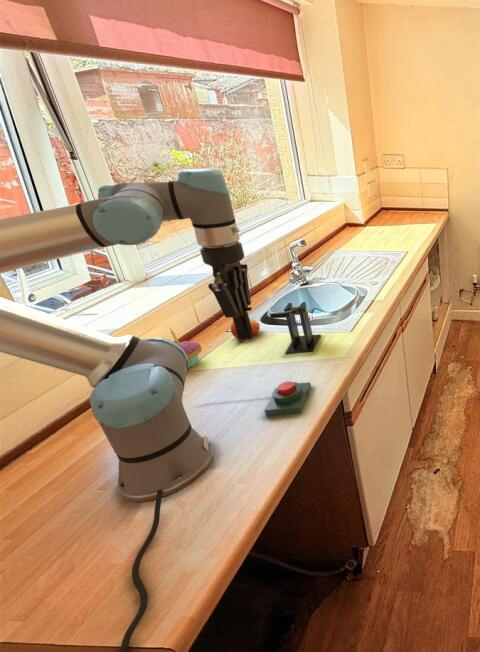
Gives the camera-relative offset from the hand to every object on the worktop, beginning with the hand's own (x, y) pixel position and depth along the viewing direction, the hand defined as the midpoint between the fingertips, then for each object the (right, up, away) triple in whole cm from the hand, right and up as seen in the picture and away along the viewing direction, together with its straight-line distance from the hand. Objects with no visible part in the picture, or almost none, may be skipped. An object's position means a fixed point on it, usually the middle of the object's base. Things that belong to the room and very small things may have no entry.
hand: (246, 337), depth 95 cm
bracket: (-4, -7, +33) cm, 34 cm away
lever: (-2, +3, +23) cm, 23 cm away
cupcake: (-33, -11, +24) cm, 42 cm away
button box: (+6, -18, +9) cm, 21 cm away
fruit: (-25, -5, +38) cm, 46 cm away
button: (+6, -15, +8) cm, 17 cm away
